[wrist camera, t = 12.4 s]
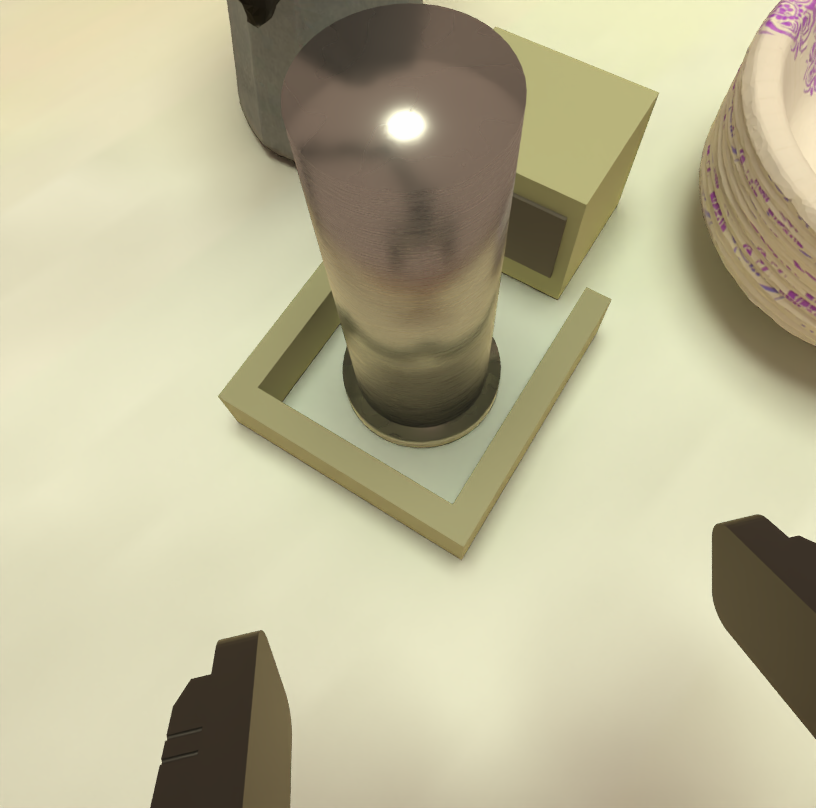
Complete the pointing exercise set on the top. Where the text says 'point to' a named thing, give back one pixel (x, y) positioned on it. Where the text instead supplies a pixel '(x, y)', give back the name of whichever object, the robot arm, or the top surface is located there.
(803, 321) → the paper bowls
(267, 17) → the moka pot
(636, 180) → the top surface
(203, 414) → the top surface
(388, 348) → the flanged base cylinder
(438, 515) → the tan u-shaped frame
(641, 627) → the top surface
